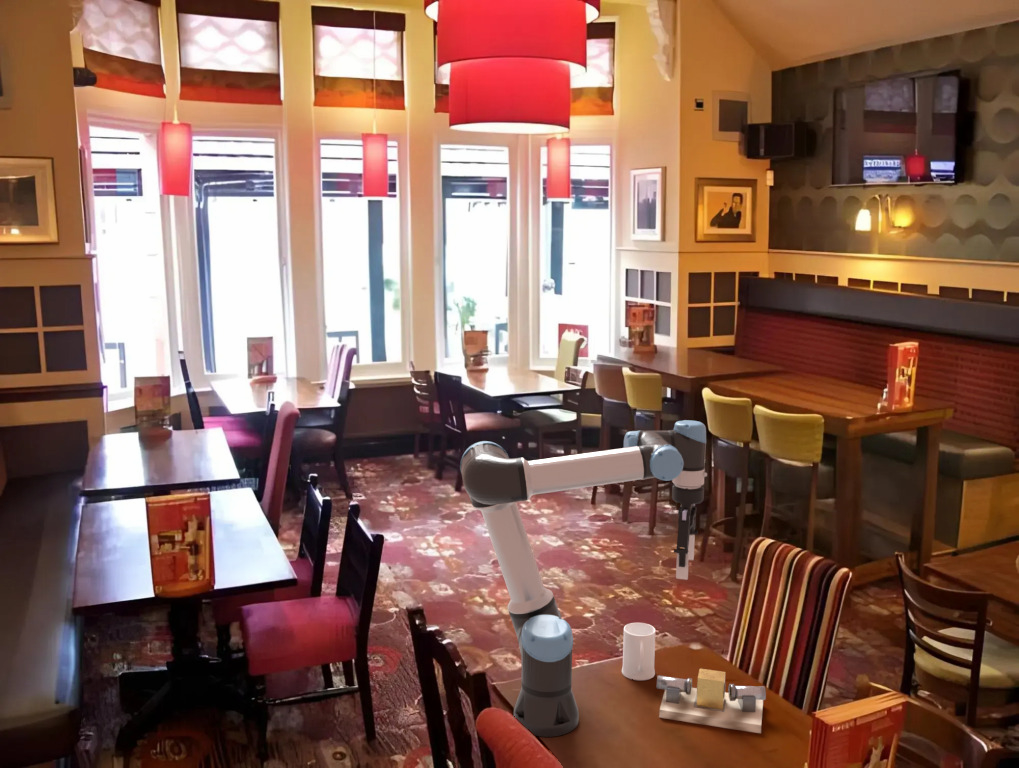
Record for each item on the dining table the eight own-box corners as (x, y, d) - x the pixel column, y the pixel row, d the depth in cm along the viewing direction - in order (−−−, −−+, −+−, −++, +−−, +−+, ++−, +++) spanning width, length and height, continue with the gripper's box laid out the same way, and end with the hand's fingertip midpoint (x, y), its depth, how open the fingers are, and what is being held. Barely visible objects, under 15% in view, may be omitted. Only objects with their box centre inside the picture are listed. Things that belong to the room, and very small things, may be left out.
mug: (655, 688, 230) (657, 642, 228) (621, 685, 231) (622, 640, 229) (654, 666, 241) (655, 623, 239) (621, 664, 242) (622, 621, 240)
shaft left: (655, 700, 220) (656, 679, 219) (658, 690, 224) (659, 669, 223) (689, 705, 217) (690, 684, 216) (691, 695, 222) (692, 674, 221)
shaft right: (731, 711, 215) (732, 690, 214) (727, 700, 220) (728, 679, 219) (766, 712, 214) (767, 690, 213) (761, 701, 219) (762, 680, 218)
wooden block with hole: (695, 705, 217) (697, 677, 216) (698, 695, 222) (699, 668, 220) (723, 709, 215) (724, 681, 214) (724, 699, 220) (726, 672, 219)
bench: (659, 717, 216) (659, 708, 215) (666, 691, 228) (666, 683, 228) (760, 733, 209) (761, 724, 209) (762, 705, 221) (763, 697, 221)
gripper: (698, 500, 210) (695, 589, 213) (708, 473, 233) (705, 553, 237) (665, 497, 212) (662, 585, 215) (678, 470, 235) (675, 550, 239)
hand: (685, 568), depth 226 cm, fingers open, 13 cm apart
